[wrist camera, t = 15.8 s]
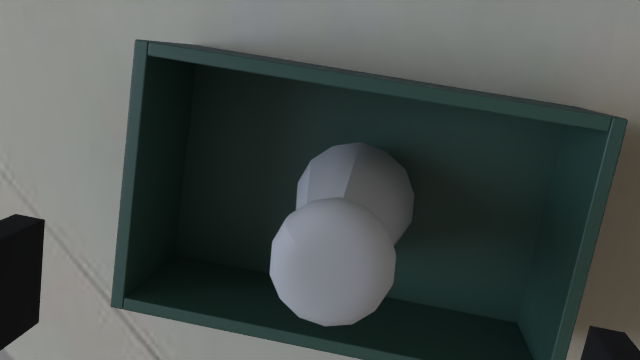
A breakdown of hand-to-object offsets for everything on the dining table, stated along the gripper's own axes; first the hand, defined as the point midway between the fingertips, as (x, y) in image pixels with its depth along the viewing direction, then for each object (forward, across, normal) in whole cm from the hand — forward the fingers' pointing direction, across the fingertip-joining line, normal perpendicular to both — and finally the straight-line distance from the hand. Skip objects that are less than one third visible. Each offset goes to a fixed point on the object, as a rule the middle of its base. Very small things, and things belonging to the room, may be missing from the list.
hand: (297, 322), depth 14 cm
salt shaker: (+18, 0, -1) cm, 18 cm away
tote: (+19, 0, -1) cm, 19 cm away
